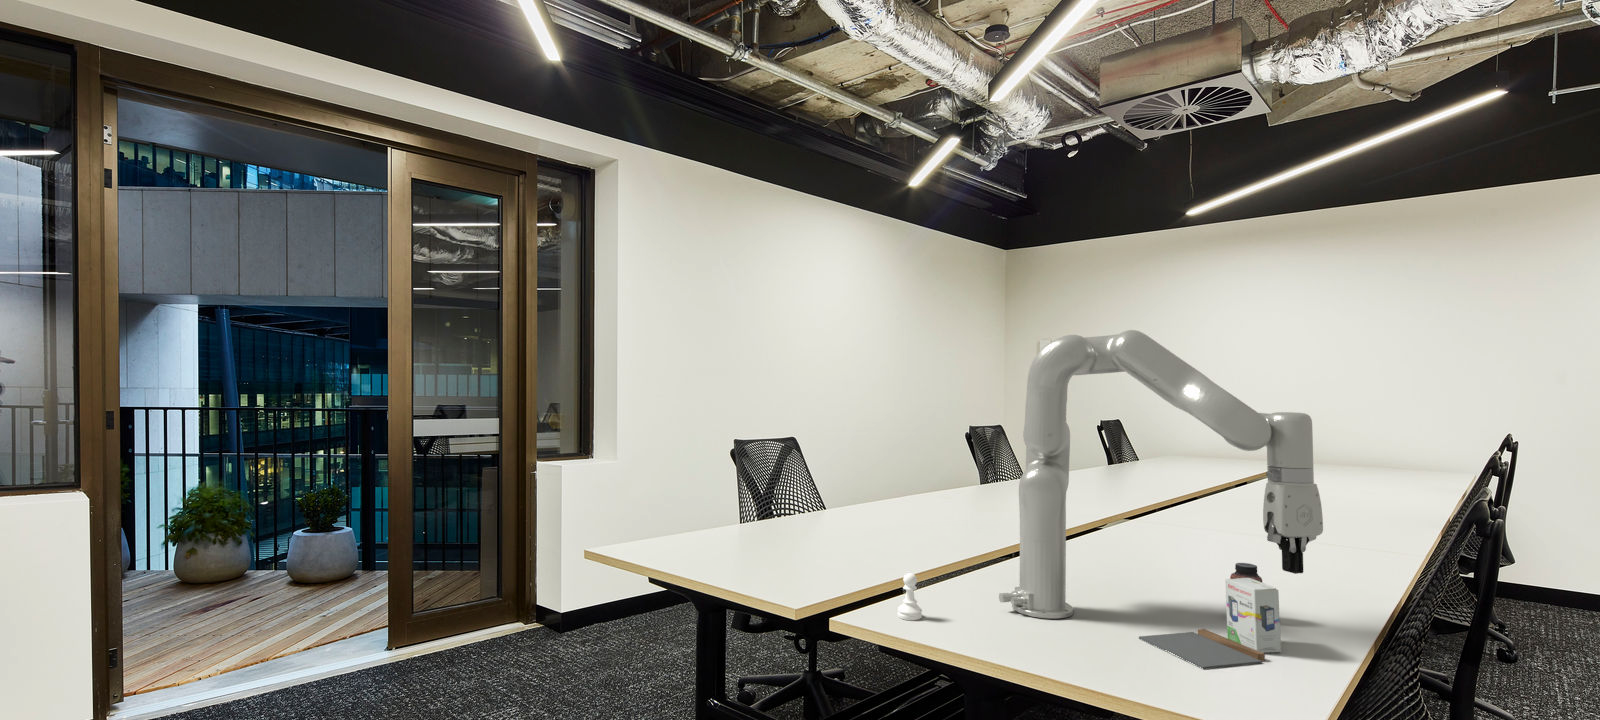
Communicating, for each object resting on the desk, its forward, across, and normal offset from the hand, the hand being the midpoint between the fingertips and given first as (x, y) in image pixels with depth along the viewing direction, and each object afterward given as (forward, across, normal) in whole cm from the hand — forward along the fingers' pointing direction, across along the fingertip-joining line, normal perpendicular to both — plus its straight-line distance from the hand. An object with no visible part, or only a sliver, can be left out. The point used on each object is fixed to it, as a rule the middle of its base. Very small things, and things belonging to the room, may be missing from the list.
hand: (1292, 571), depth 145 cm
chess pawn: (+12, -67, +30) cm, 74 cm away
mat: (+13, -22, 0) cm, 26 cm away
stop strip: (+13, -15, 0) cm, 20 cm away
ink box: (+14, -10, 0) cm, 17 cm away
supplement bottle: (+14, +3, +14) cm, 20 cm away
